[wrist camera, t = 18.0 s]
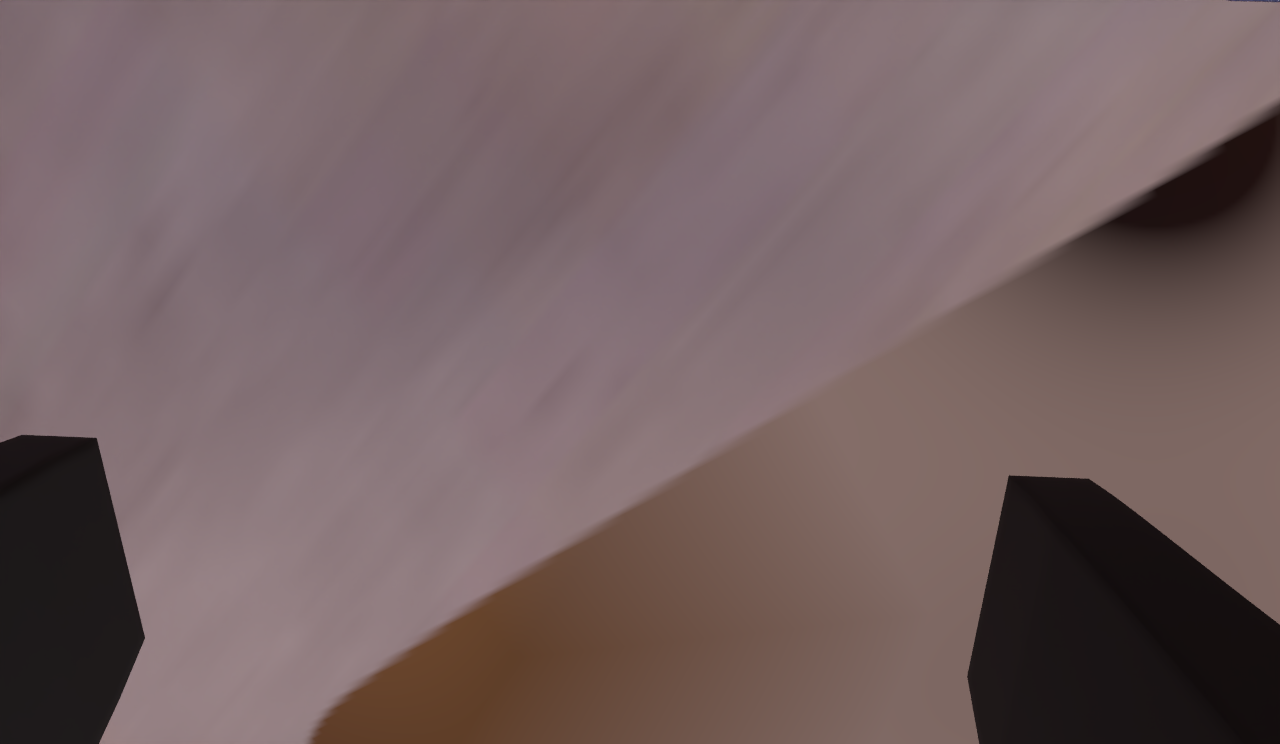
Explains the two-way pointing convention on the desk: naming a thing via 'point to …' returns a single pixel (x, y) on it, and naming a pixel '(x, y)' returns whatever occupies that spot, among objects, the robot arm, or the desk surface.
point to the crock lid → (1258, 0)
